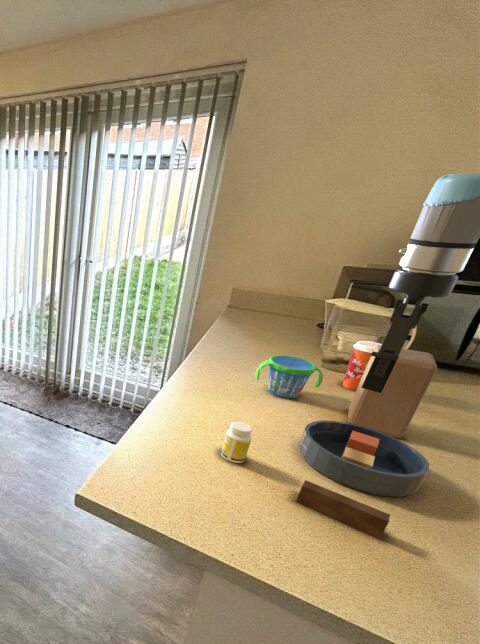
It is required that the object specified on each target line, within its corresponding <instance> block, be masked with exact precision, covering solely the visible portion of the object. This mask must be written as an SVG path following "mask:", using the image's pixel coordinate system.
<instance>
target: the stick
mask: <svg viewBox="0 0 480 644" xmlns="http://www.w3.org/2000/svg"><path fill="white" fill-rule="evenodd" d="M295 502H296V503H298V504H300V505H303V506H305V507H307V508H309V509H312V510H314V511H316V512H319V513H320V514H323V515H325V516H328V517H330V518H332V519H334V520H337V521H339V522H341V523H343V524H346V525H348V526H350V527H353V528H355V529H357V530H359V531H361V532H364V533H366V534H368V535H371V536H373V537H375V538H378V539H381V538H382V535H383V534H384V532H385V530H386V528H387V526H389V523H390V519H391V514H390V513H387V512H385V511H383V510H380V509H377V508H376V507H373V506H371V505H368V504H365V503H363V502H360V501H358V500H355V499H353V498H350V497H348V496H346V495H344V494H341V493H338V492H336V491H334V490H332V489H328V488H327V487H323V486H321V485H319V484H316V483H314V482H311V481H309V480H306V479H304V482H303V483H302V486H301V488H300V490H299V492H298V495H297V497H296V499H295Z"/></svg>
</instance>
